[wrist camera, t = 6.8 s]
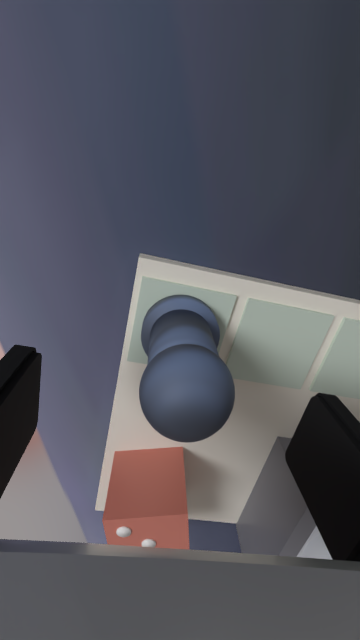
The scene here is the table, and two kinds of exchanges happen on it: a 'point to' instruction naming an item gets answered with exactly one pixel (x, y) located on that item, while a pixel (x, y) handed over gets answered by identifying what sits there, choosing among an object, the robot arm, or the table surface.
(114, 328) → the table surface
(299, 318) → the board
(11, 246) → the table surface
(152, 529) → the die
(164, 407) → the pawn
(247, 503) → the dome housing
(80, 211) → the table surface
